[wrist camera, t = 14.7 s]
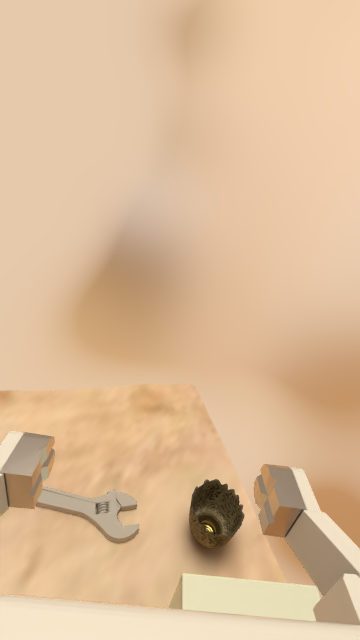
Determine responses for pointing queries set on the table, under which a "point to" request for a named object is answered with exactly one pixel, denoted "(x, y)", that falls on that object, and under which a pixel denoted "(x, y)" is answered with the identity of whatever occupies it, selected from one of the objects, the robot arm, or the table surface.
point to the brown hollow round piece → (215, 514)
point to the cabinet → (245, 597)
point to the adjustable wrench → (86, 509)
